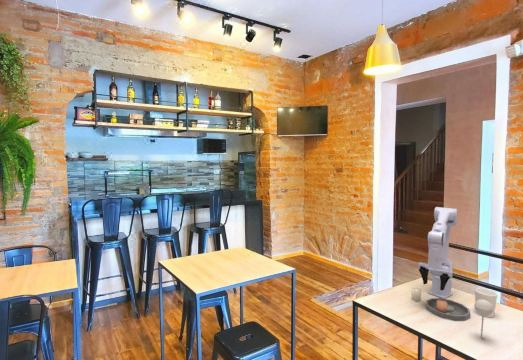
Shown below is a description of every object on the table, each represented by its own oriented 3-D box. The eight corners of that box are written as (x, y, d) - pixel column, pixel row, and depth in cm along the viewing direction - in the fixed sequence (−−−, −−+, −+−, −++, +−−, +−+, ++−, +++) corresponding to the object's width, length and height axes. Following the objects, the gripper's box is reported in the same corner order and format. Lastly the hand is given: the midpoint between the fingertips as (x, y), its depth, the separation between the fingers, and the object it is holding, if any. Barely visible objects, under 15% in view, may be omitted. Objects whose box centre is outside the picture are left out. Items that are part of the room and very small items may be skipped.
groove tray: (437, 299, 154) (438, 295, 154) (476, 313, 140) (477, 309, 140) (418, 307, 145) (418, 303, 144) (458, 324, 130) (458, 320, 130)
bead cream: (414, 297, 156) (415, 287, 156) (422, 300, 153) (422, 290, 152) (409, 298, 154) (410, 288, 153) (417, 302, 151) (418, 291, 150)
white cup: (496, 313, 141) (498, 291, 140) (494, 320, 135) (495, 297, 134) (475, 307, 146) (477, 286, 145) (472, 313, 140) (473, 291, 139)
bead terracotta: (439, 309, 142) (439, 298, 142) (448, 313, 139) (449, 302, 138) (434, 311, 140) (435, 301, 139) (443, 315, 137) (444, 304, 136)
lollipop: (491, 344, 117) (494, 305, 116) (472, 339, 120) (475, 301, 119) (490, 336, 122) (492, 299, 121) (471, 331, 125) (474, 295, 124)
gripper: (415, 254, 146) (413, 283, 147) (447, 263, 134) (445, 294, 135) (423, 252, 150) (421, 279, 151) (455, 260, 138) (453, 290, 139)
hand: (433, 286), depth 143 cm, fingers open, 7 cm apart
